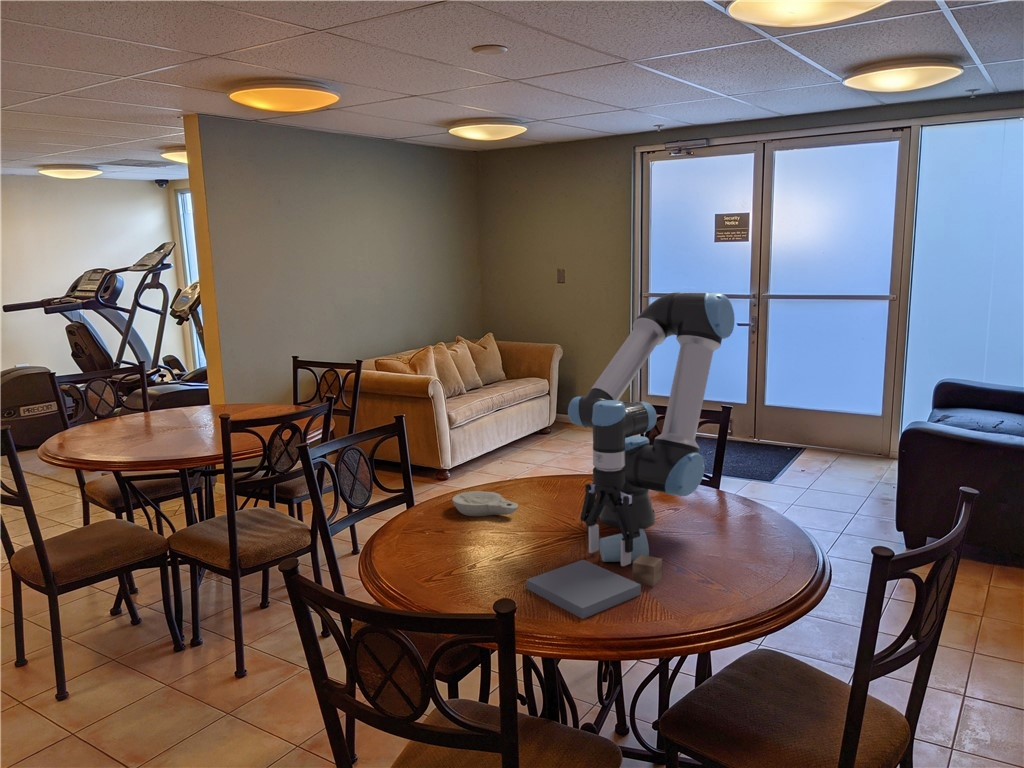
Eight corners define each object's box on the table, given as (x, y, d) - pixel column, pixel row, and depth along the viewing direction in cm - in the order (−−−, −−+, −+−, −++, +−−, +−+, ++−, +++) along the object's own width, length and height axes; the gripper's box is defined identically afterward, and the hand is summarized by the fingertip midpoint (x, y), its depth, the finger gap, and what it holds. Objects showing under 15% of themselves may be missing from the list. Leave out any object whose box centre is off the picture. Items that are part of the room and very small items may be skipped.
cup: (598, 552, 180) (639, 547, 181) (605, 573, 173) (648, 567, 174) (597, 527, 177) (640, 522, 178) (605, 547, 170) (649, 541, 171)
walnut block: (632, 583, 165) (632, 562, 164) (641, 575, 169) (641, 554, 168) (653, 588, 162) (653, 566, 161) (662, 579, 166) (662, 558, 165)
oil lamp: (531, 513, 212) (531, 497, 211) (503, 529, 200) (503, 511, 199) (472, 502, 223) (471, 486, 222) (443, 516, 211) (442, 499, 211)
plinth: (526, 590, 162) (526, 579, 162) (583, 569, 172) (583, 559, 172) (582, 620, 148) (582, 608, 148) (640, 595, 158) (640, 584, 158)
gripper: (564, 460, 179) (566, 548, 182) (633, 480, 161) (633, 576, 165) (587, 455, 183) (588, 540, 187) (656, 473, 166) (656, 567, 169)
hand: (609, 557), depth 176 cm, fingers open, 10 cm apart
